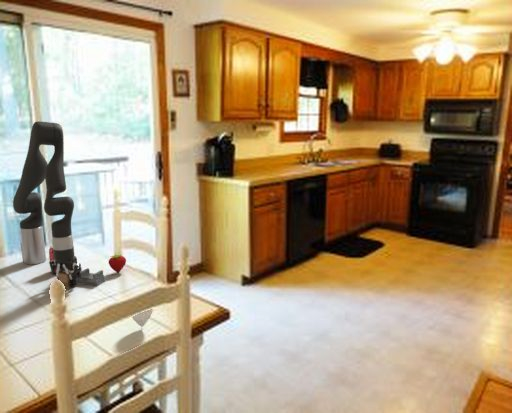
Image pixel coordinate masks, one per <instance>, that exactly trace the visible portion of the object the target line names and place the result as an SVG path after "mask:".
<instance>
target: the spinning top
mask: <svg viewBox="0 0 512 413" xmlns="http://www.w3.org/2000/svg"><path fill="white" fill-rule="evenodd" d="M153 312H154V308H153V309H150V310H147V311H144V312H142V313H139V314H137V315H135V316H133V317H131V318H132V320H133V321H134V322H135V323H136V324H137V325H139V326H140V327H141V328H142V327H143V328H144V326H145V325H146V324H147V322H148V321H149V319H150V317H151V316H152V314H153Z"/></svg>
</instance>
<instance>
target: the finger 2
mask: <svg viewBox="0 0 512 413" xmlns="http://www.w3.org/2000/svg"><path fill="white" fill-rule="evenodd" d="M69 272H70V271H69ZM71 274H72V273H71ZM72 276H73V275H72ZM58 278H59V280H60V281H61V282H62V283H63V284H64V286H65V289H66V291H65V292H69V291H70V290H73V289H75V287H73V288H70V278H69V275H67V273H66V272H65V271H62V272H60V273H58Z"/></svg>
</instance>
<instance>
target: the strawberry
mask: <svg viewBox="0 0 512 413" xmlns="http://www.w3.org/2000/svg"><path fill="white" fill-rule="evenodd" d="M126 263H127V259H126V257H125V256H123V254H120V253H118V254H117V253H114V255H111V256H110V258H109V259H108V265H109V267H110V268H111V270H113V271H114V272H115V273H118V274H119V273H120V272H121V271H122V270H123V268H124V267H125V266H126Z"/></svg>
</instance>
